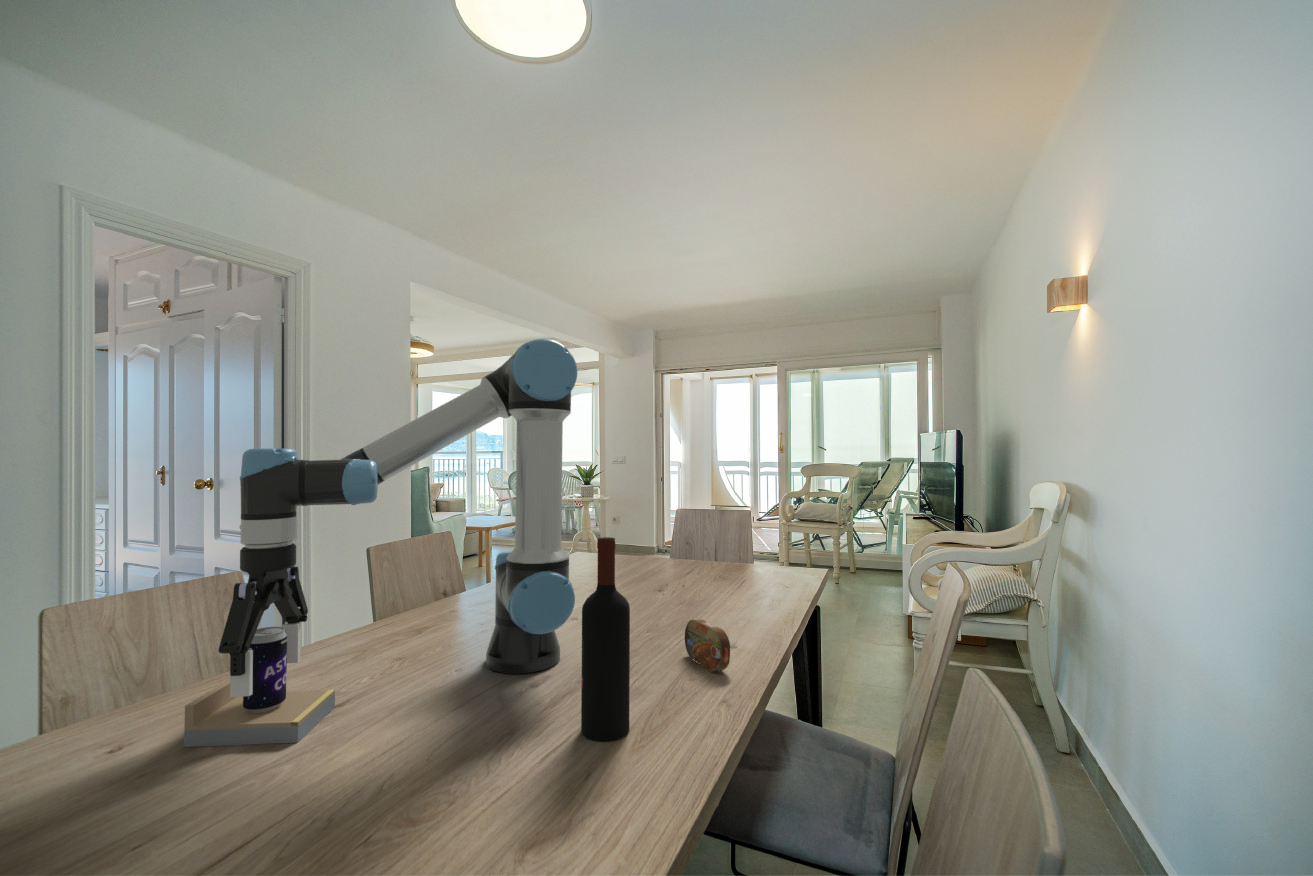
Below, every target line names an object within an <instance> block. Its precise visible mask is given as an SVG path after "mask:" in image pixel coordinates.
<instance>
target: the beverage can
mask: <svg viewBox="0 0 1313 876" xmlns="http://www.w3.org/2000/svg"><path fill="white" fill-rule="evenodd" d="M284 630H285V629H284V628H283V627H281V626H266V627H259V628H257V630H256V632H255V635H254V637H253V640H252V642H251V645H250V647H249V650H253V694H252V695H250V696H243V707H244V708H245V709H247V710H249V712H251V713H262V712H267V711H271V710H273V709H276V708H277V707H279V706H280V704H281V703H282V702H283V701H284V700H285V699H286V691H287V670H288V669H287V666H288V663H287V635H286V633H285V631H284Z"/></svg>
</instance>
